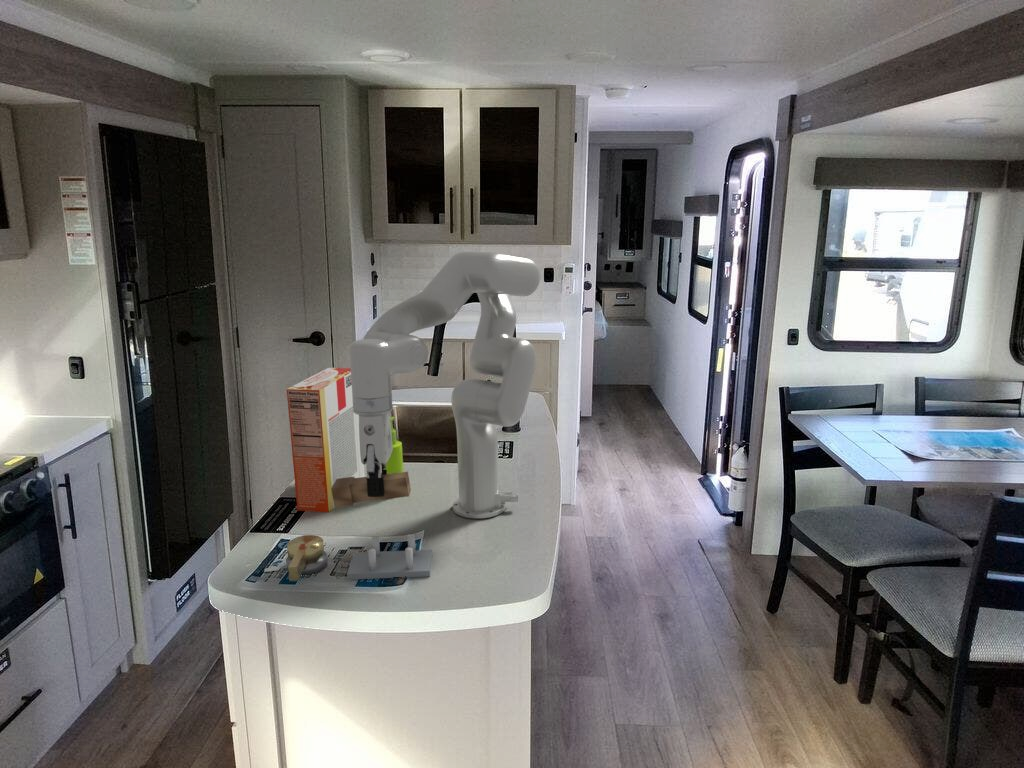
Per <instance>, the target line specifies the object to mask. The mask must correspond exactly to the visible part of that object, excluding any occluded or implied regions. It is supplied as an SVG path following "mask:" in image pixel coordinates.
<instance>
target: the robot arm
mask: <svg viewBox="0 0 1024 768" xmlns="http://www.w3.org/2000/svg"><path fill="white" fill-rule="evenodd" d="M540 280H541V274H540V269H539V267H538V265H537V264H536V263H535V261H533V260H532V259H530V258H527V257H520V256H515V255H514V256H513V255H509V254H505V253H500V252H499V253H498V252H491V251H489V252H487V251H461V252H457V253H455V254H454V255H452V256H451V257H450V259H448V261H447V262H446V263H445V264H444V265H443V267H441V269H440V270H439V271H438V272H437V274H436V275H435V276H434V277H433V278H432V280H430V282H429V283H428V284H427V285H426V286H425V287H424V289H422V291H420V292H418V293H417V294H415V295H413V296H410V297H409V298H407V299H406V300H404V301H402V302H400V303H398V304H396V305H395V306H393V307H391V308H390V309H388V310H387V311H385V312H384V313H383V314H382V315H380V316H379V318H378V319H377V320H376V321H375V322H374V323H373V324H372V326H371V327H370V328H369V329H368V330H367V332H366V333H365V334H364V336H363V338H362V339H357V340H355V341H353V342H352V343H351V344H350V345H349V364H350V368H351V383H352V399H353V412H354V413H355V414H357V415H359V441H360V456H361V462H362V463H363V464H364V466H365V465H366V466H365V467H366V477H367V492H368V496H369V497H383V496H384V477H382V475H386V474H387V469H386V463H387V462H388V460H389V458H390V456H391V453H392V450H393V444H392V433H391V423H390V417H391V415H390V413H391V412H392V411H393V409H394V408H393V406H394V405H393V393H392V390H393V389H392V375H395V374H409V373H414V372H417V371H418V370H419V369H421V368H422V367H424V365H425V364H426V362H427V361H428V357H429V350H428V349H429V348H428V347H427V344H426V343H425V341H424V340H423V339H422V338H421V337H418V336H416V335H412V334H413V333H414V332H417V331H420V330H424V329H427V328H432V327H436V326H440V325H442V324H445V323H448V322H450V321H452V319H454V317H455V316H456V315H457V314H458V312H459V311H460V310H461V309H462V308H463V306H464V305H465V304H466V303H467V302H468V300H469V299H470V297H471V296H472V295H473V294H474V293H476V294H477V297H478V300H479V303H480V317H479V322H478V326H477V329H476V333H475V336H474V340H473V343H472V347H471V351H470V355H469V365H470V367H471V369H472V370H473V371H474V372H475V373H478V374H480V375H484V376H488V377H494V378H502V381H501V382H496V381H492V380H485V379H481V378H480V379H478V378H467V379H464V380H461V381H459V382H458V383H457V384H456V385H455V386H454V388H453V390H452V393H451V397H450V399H451V401H450V403H451V409H452V412H453V417H454V421H455V428H456V441H457V442H456V444H457V445H456V446H457V447H456V448H457V474H458V475H457V477H458V481H457V482H458V498H457V499H456V500H454V502H453V503H452V510H453V513H454V514H456V515H457V516H460V517H462V518H467V519H475V520H476V519H488V518H492V517H496V516H498V515H500V514H502V513H503V512H505V510H506V503H519V494H518V493H513V491H512V490H511V491H509V490H507V491H503V490H501V486H500V485H499V484H500V483H499V482H500V481H499V479H500V477H499V437H498V432H497V430H496V428H495V426H500V427H505V428H506V427H512V426H515V425H517V423H519V422H520V420H521V419H522V416H523V414H524V413H525V408H526V404H527V402H528V398H529V395H530V391H531V386H532V383H533V379H534V376H535V371H536V367H537V353H536V350H535V347H534V346H533V344H532V343H531V342H530V341H529V340H526V339H524V338H521V337H514V333H515V328H516V326H517V313H516V309H515V307H514V305H513V303H512V301H511V299H510V297H511V296H512V297H513V296H514V297H528V296H531V295H533V293H535V292H536V290H537V289H538V287H539V284H540ZM383 469H385V470H383Z"/></svg>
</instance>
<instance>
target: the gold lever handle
mask: <svg viewBox="0 0 1024 768" xmlns="http://www.w3.org/2000/svg"><path fill="white" fill-rule="evenodd" d="M324 545H325V544H324V539H323V537H321V536H320V535H314V534H308V535H307V534H306V535H301V536H297V537H294V538H292V539H290V540H289V541H287V544H286V550H287V557H288V558H289V559H290V560H291V563H290V565H289V567H288V571H289V573H288V579H289V582H297V581H298V582H299V580H300V578H301V577H302V576H301V574H302V571H303V569H304V567H305V565H306V563H307V562H308V561H312V560H315V559H318V558H319V557H321V556H322V555H323V554H324V551H325V547H324Z"/></svg>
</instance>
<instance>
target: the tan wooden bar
mask: <svg viewBox="0 0 1024 768" xmlns="http://www.w3.org/2000/svg"><path fill="white" fill-rule="evenodd" d="M382 477H384V496H383V497H369V496H368V492H367V476H365V477H361V478H355V477H347V478H339V479H336V481H335V483H334V484H333V486H332V488H331V491H332V496H333V501H334V506H335V507H334V508H341V507H348V506H349V507H350V506H353V505H354V504H357V503H358V504H359V503H367V502H375V501H383V500H389V499H391V500H393V499H399V498H404V497H405V498H408V497H410V495H411V491H412V489H411V482H410V478H409V477H410V475H409V472H408V471H403V472H401V473H393V474H386V475H382Z"/></svg>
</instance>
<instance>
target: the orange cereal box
mask: <svg viewBox="0 0 1024 768" xmlns="http://www.w3.org/2000/svg"><path fill="white" fill-rule="evenodd" d="M286 396H287V407H288V421H289V429H290V430H289V433H290V442H291V452H292V453H291V454H292V455H291V456H292V465H293V476H294V487H295V488H294V489H295V497H296V508H297V509H296V510H297V511H300V512H301V511H305V512H318V513H320V512H321V513H330V512H331V511H332V510H333V509H334V508H336V507H335V506H334V501H333V496H332V491H331V488H332V486H333V484H334V483H335V481H336V479H339V478H347V477H355V478H361V477H366V475H365V474H366V473H365V465H364V464H363V463H362V462H361V456H360V441H359V415H357V414H355V413H354V412H353V399H352V383H351V368H348V367H344V368H343V367H328V368H325V369H322V371H320V372H317V373H316V374H314V375H312V376H310V377H307V378H305V379H304V380H302V381H300V382H297V383H296V384H294V385H292V386H290V387H288V388H286Z"/></svg>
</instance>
